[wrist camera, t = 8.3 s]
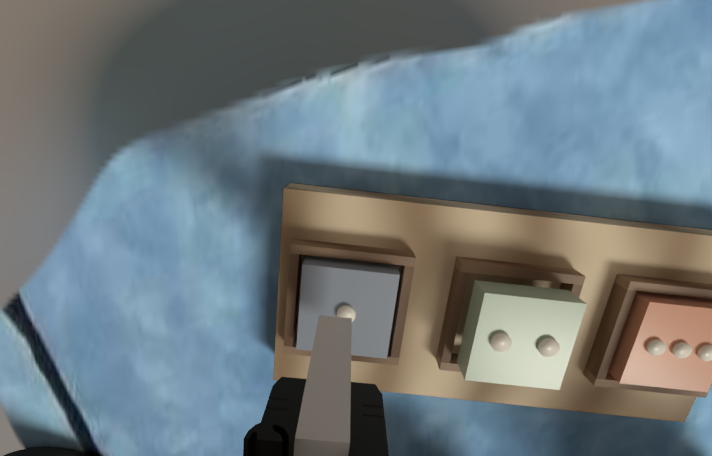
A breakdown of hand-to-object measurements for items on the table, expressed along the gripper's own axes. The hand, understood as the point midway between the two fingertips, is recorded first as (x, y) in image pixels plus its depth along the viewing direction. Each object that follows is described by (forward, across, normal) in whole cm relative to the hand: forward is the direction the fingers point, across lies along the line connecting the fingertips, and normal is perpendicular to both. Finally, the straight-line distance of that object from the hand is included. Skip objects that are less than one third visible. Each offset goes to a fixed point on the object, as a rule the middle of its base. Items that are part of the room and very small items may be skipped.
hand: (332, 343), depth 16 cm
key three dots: (+4, -19, 0) cm, 19 cm away
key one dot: (+4, -1, 0) cm, 4 cm away
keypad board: (+6, -10, 0) cm, 11 cm away
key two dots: (+3, -10, 0) cm, 10 cm away
